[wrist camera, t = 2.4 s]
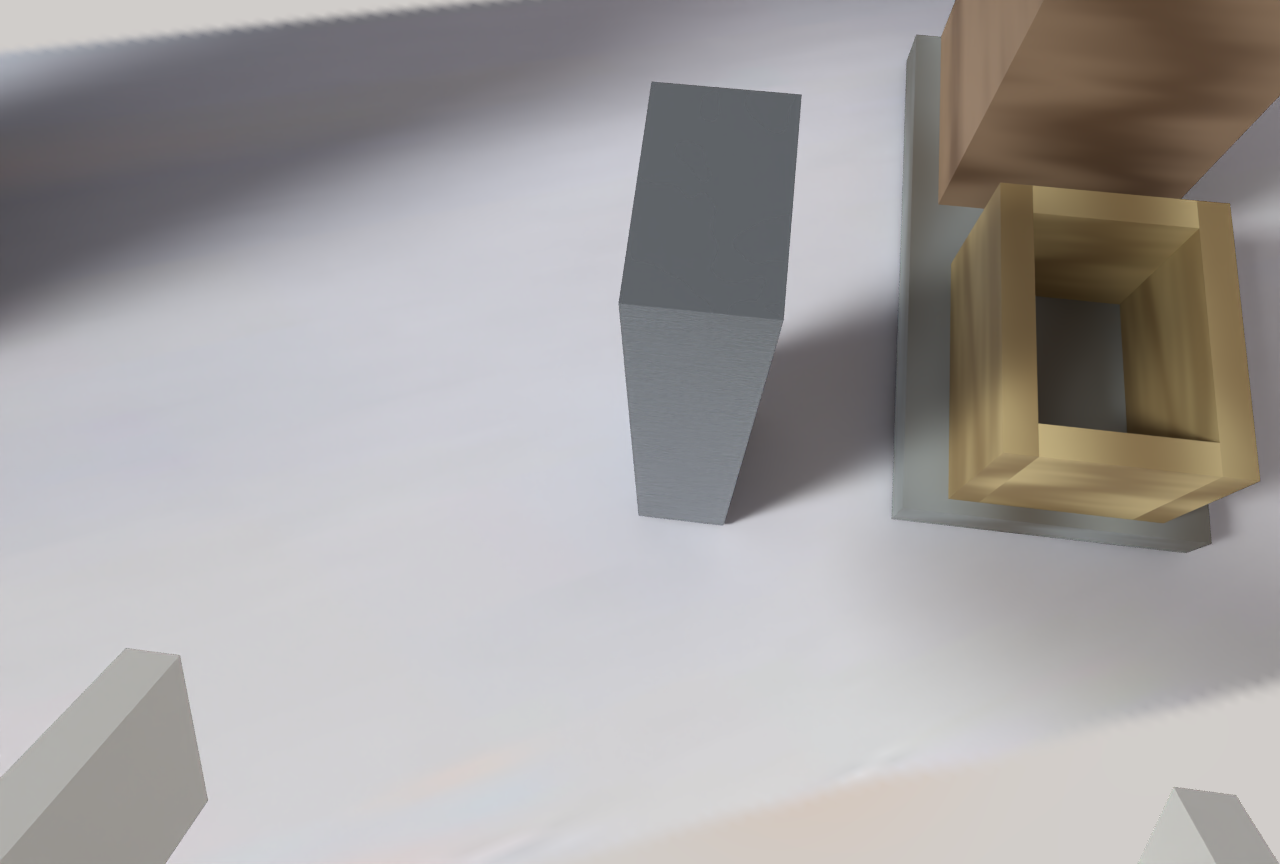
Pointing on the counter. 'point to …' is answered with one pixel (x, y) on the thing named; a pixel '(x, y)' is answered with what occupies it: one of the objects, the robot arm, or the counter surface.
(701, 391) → the grey block
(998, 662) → the counter surface
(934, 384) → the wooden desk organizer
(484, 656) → the counter surface
